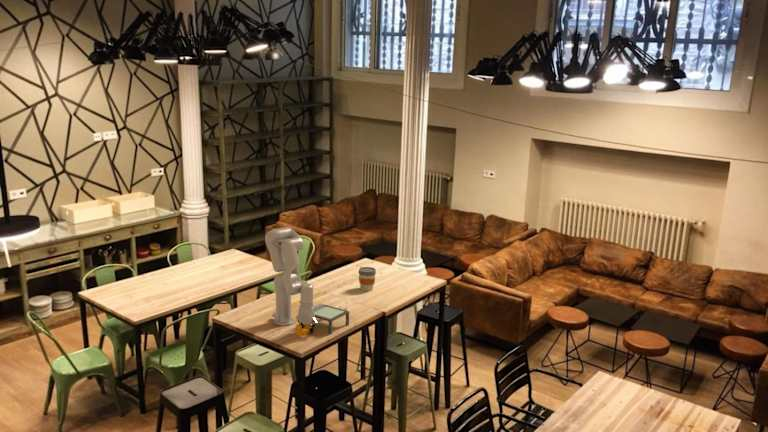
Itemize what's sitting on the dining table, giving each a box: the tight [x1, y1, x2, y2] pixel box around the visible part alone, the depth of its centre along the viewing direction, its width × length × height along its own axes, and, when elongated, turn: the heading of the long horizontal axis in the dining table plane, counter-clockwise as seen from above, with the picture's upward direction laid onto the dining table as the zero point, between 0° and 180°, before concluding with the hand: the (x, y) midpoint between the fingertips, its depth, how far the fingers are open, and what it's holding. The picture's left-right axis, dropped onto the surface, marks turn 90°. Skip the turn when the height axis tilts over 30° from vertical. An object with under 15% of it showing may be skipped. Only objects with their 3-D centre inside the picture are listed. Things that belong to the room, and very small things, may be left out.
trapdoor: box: [313, 303, 345, 319], centre depth 425 cm, size 18×15×3 cm
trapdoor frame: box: [305, 304, 350, 335], centre depth 426 cm, size 19×19×9 cm
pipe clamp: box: [295, 323, 311, 338], centre depth 414 cm, size 12×4×6 cm, turn 143°
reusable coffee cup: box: [358, 266, 377, 292], centre depth 494 cm, size 12×13×15 cm
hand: (306, 331), depth 414 cm, fingers open, 7 cm apart
